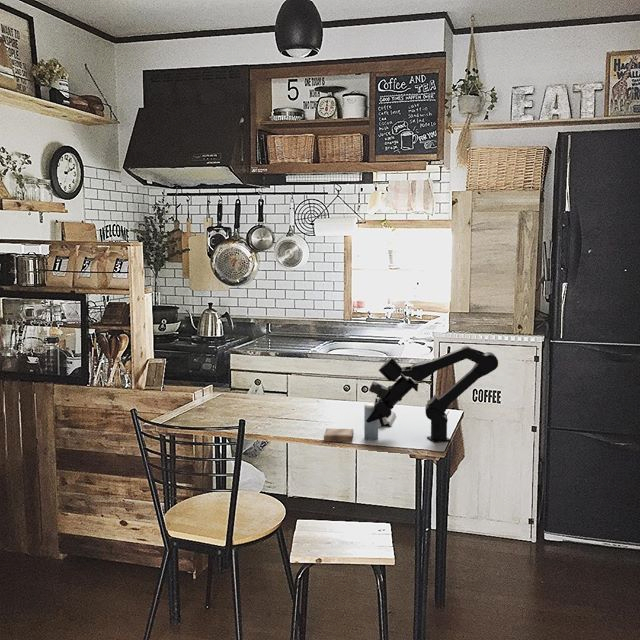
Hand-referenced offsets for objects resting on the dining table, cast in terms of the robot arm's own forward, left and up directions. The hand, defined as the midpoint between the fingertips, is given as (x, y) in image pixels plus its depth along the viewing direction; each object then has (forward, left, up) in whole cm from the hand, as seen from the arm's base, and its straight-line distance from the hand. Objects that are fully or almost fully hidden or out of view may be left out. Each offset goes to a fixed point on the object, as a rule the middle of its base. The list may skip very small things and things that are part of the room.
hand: (367, 419), depth 279 cm
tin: (-1, -1, -7) cm, 7 cm away
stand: (+3, +10, -7) cm, 12 cm away
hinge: (+21, -15, -7) cm, 27 cm away
